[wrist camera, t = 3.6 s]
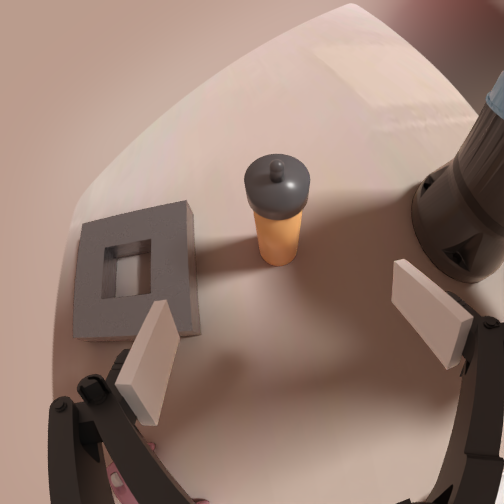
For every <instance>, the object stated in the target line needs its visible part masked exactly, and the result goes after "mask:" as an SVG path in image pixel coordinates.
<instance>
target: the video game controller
mask: <svg viewBox="0 0 504 504" xmlns="http://www.w3.org/2000/svg"><path fill="white" fill-rule="evenodd" d="M148 445H149V446H150V448H151V449H152V450H154V448H155V444H154V443H148ZM106 470H107V474H108V479H109V483H110V484H111V487H112V489H113V491H114V493H115V495H116V496H117V498H118V499H119V501H120V502H121V503H122V504H138V502H137V501H136V499H135V497H134V496H133V494H132V493H131V491H130V490H129V488H128V486H127V485H126V483H125V481H124V480H123V478H122V476H121V475H120V473H119V471H118V469H117V467H116V466H115V464H114V462H112V463H111V464H110V465H109V466H108V467H107V469H106ZM196 504H209V501H207V500H203V501H199V502H196Z"/></svg>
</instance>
